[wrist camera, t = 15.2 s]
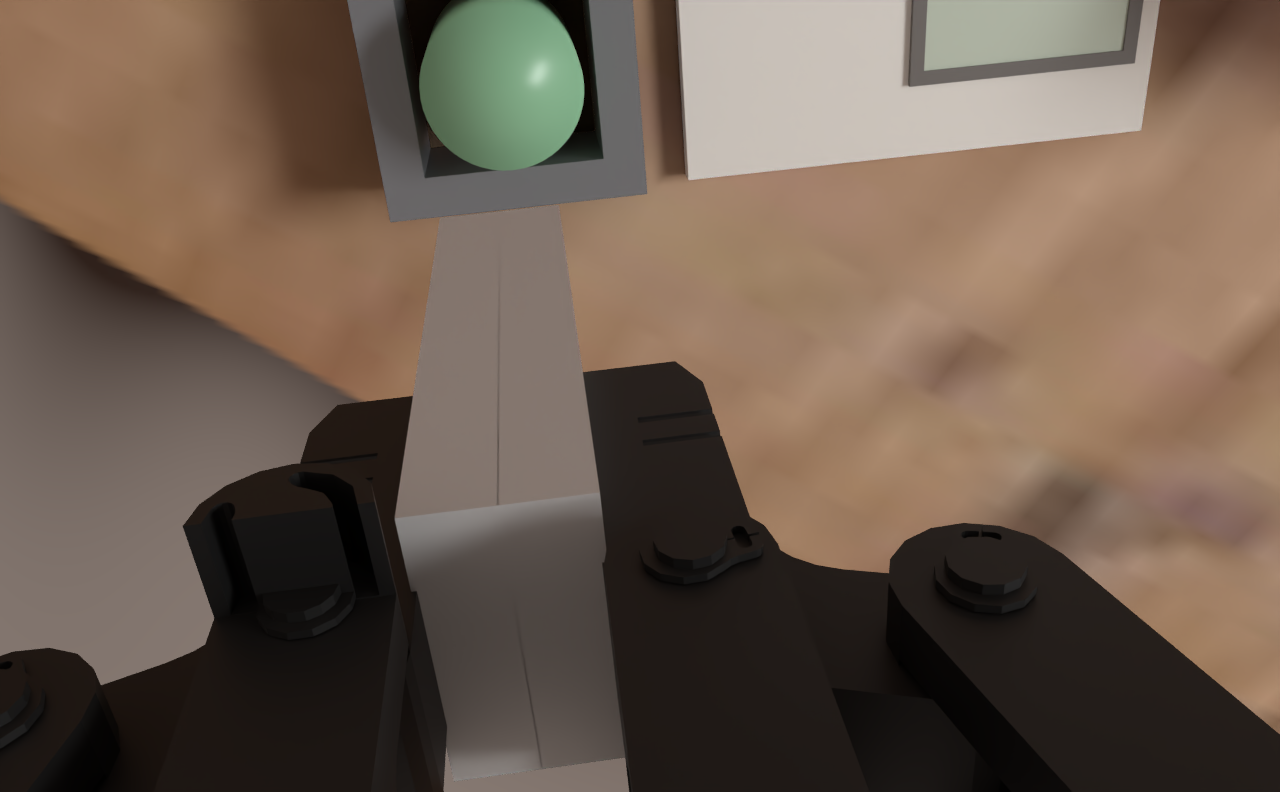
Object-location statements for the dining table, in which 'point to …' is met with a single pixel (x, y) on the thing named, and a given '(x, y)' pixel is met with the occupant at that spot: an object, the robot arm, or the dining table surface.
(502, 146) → the button
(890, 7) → the sheet
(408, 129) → the button housing
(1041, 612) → the robot arm
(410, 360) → the dining table surface
